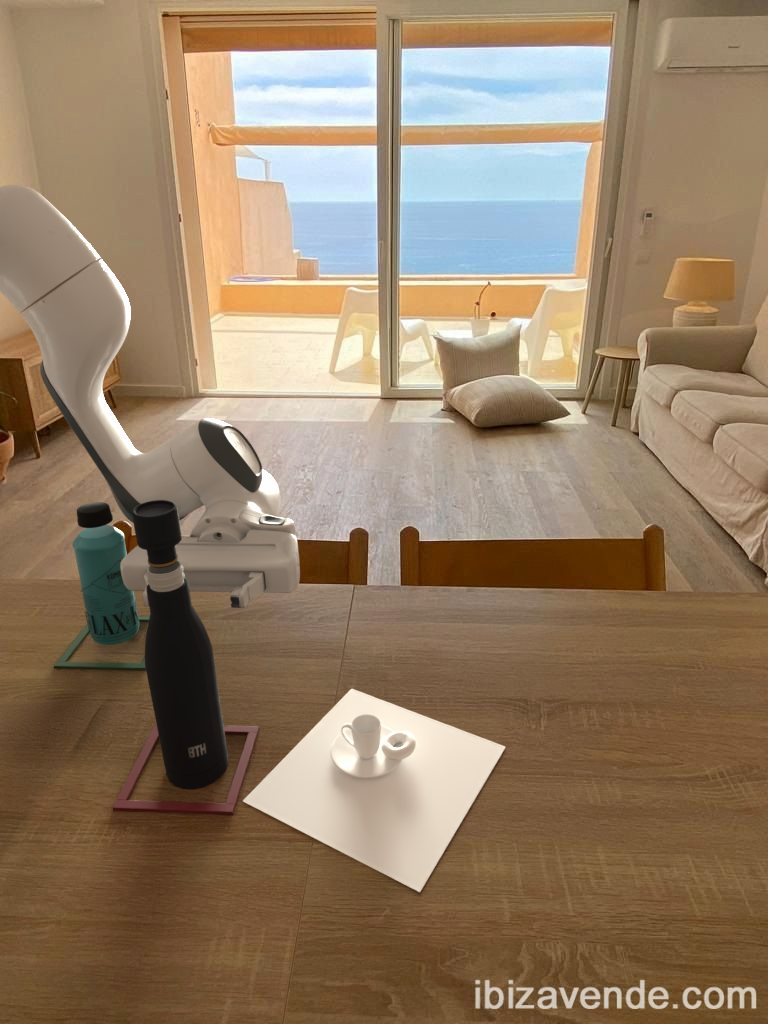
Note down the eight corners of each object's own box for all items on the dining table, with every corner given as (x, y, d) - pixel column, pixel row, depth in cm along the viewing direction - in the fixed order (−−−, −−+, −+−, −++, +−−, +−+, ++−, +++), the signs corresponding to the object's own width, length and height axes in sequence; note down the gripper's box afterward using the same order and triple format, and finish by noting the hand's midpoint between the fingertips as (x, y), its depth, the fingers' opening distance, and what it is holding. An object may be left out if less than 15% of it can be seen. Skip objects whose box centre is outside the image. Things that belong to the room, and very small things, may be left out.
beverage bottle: (82, 652, 92) (51, 514, 84) (111, 625, 98) (85, 494, 90) (125, 658, 91) (98, 518, 83) (153, 631, 97) (130, 498, 89)
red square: (112, 810, 68) (112, 807, 68) (155, 726, 79) (155, 723, 79) (232, 814, 68) (232, 811, 67) (259, 728, 79) (259, 726, 78)
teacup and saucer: (424, 745, 76) (424, 716, 74) (387, 795, 69) (386, 764, 68) (356, 718, 80) (355, 690, 78) (315, 763, 74) (313, 733, 72)
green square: (54, 668, 89) (53, 665, 89) (94, 617, 100) (94, 614, 100) (145, 670, 89) (144, 668, 88) (176, 618, 99) (175, 616, 99)
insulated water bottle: (197, 737, 77) (156, 489, 65) (241, 758, 74) (207, 502, 62) (153, 774, 72) (99, 514, 60) (198, 799, 69) (151, 529, 57)
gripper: (141, 518, 85) (92, 574, 73) (306, 520, 84) (285, 577, 71) (149, 563, 88) (103, 625, 75) (309, 565, 87) (289, 628, 74)
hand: (193, 601), depth 73 cm, fingers open, 8 cm apart
